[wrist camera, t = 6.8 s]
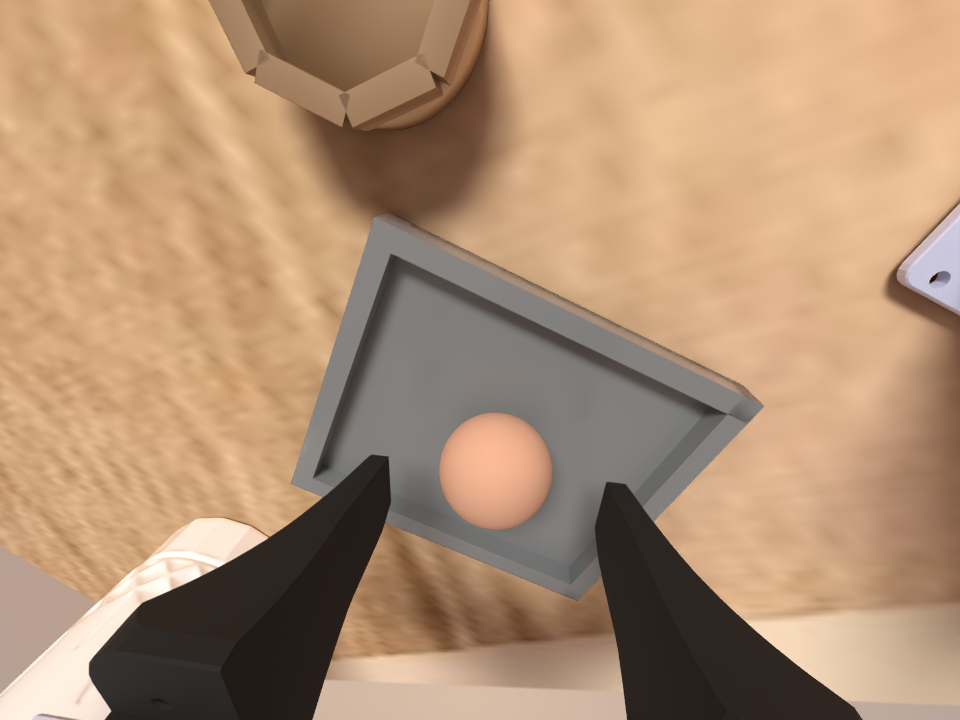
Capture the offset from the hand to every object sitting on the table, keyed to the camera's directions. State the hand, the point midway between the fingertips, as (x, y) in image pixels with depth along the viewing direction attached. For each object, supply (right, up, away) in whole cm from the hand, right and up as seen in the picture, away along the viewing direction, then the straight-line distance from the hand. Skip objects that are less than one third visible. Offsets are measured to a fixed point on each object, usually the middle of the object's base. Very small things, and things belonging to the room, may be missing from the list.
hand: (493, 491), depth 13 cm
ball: (0, +1, +3) cm, 3 cm away
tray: (0, +2, +3) cm, 4 cm away
